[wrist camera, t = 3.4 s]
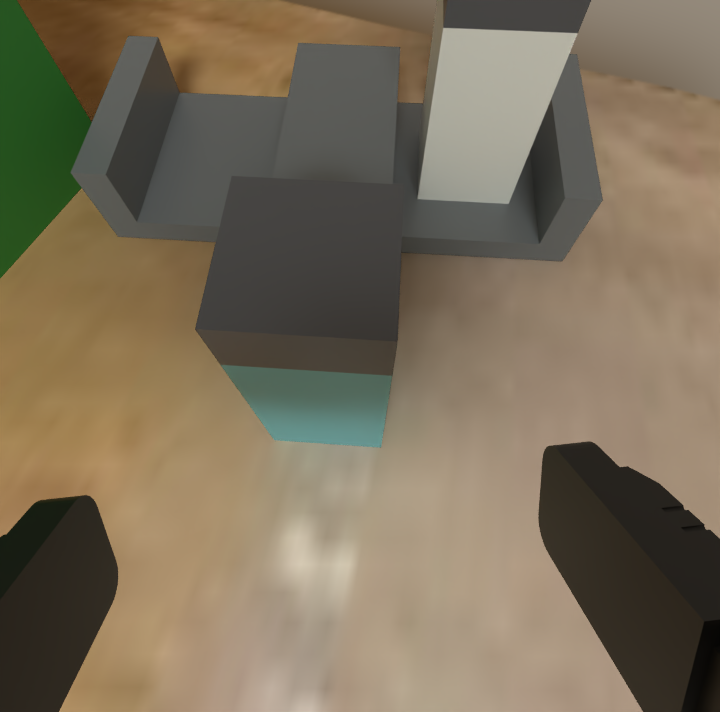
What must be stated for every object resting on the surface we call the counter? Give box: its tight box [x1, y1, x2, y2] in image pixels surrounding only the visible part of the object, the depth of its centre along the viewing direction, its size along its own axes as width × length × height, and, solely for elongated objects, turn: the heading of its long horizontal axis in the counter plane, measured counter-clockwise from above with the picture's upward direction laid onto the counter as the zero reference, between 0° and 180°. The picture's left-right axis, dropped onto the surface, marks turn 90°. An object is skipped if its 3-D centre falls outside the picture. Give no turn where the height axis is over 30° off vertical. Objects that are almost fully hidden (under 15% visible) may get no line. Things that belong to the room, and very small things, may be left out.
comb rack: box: [71, 36, 603, 261], centre depth 23 cm, size 22×9×4 cm, turn 86°
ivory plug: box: [417, 0, 591, 204], centre depth 19 cm, size 4×4×10 cm
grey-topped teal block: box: [195, 176, 404, 447], centre depth 16 cm, size 4×4×10 cm
